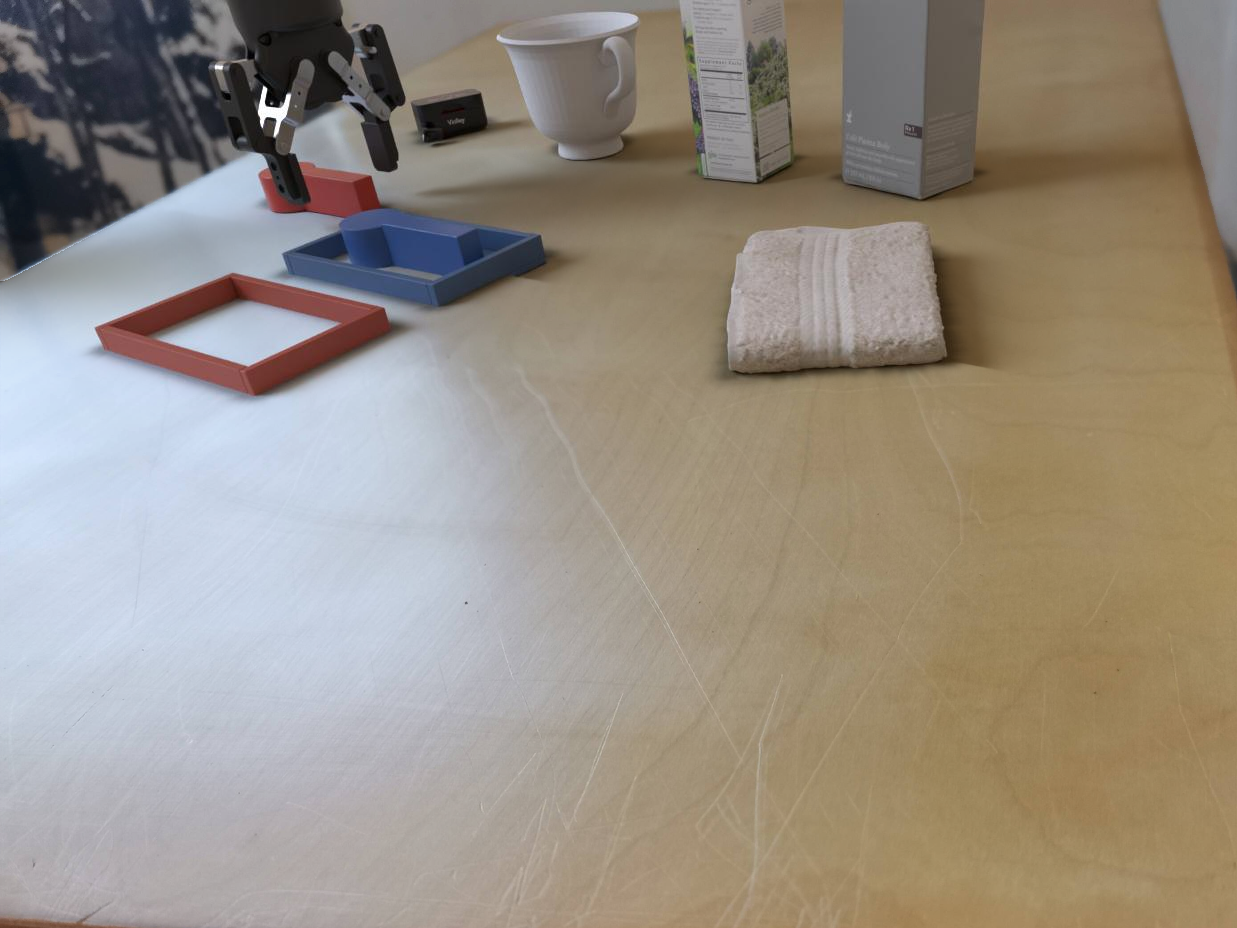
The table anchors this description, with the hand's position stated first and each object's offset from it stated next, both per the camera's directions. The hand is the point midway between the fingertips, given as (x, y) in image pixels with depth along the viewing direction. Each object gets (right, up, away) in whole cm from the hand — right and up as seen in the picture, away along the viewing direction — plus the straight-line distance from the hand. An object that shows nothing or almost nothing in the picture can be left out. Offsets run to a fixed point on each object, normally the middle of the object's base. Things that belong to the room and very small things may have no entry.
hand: (344, 186), depth 89 cm
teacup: (+18, +6, +10) cm, 22 cm away
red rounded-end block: (-3, -1, +3) cm, 4 cm away
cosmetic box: (+45, -1, -3) cm, 45 cm away
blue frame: (+10, -10, -11) cm, 17 cm away
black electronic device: (+2, +12, +19) cm, 22 cm away
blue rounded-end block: (+10, -9, -11) cm, 18 cm away
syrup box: (+32, +2, +3) cm, 32 cm away
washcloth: (+38, -16, -22) cm, 47 cm away
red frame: (+2, -17, -20) cm, 26 cm away
